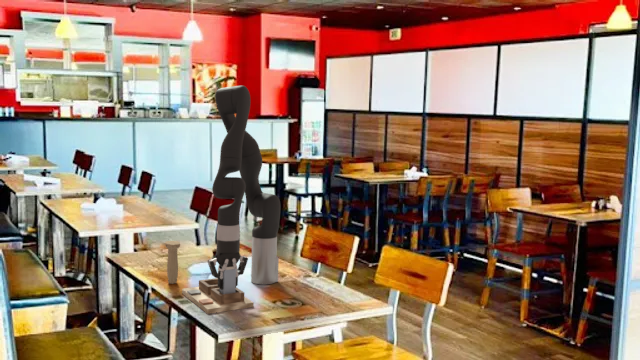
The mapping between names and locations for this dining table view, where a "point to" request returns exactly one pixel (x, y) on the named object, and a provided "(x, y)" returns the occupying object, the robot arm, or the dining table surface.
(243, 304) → the socket board
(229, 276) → the plug
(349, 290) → the dining table surface
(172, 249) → the handle
